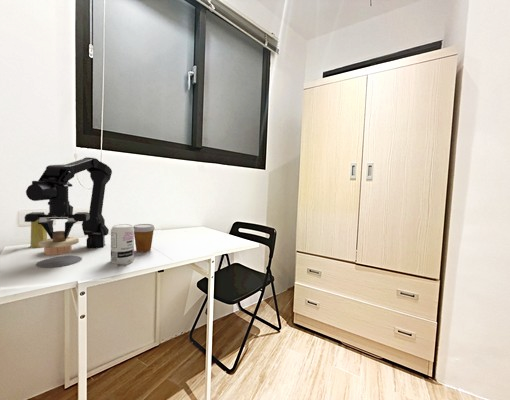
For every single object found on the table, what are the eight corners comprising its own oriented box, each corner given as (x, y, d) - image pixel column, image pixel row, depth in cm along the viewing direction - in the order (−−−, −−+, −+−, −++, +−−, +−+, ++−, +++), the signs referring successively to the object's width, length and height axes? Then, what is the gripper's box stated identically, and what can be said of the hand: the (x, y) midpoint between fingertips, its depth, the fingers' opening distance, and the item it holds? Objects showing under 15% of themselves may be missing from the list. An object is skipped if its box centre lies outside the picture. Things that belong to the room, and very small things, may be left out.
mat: (86, 256, 103) (86, 254, 103) (75, 267, 90) (75, 266, 90) (45, 258, 98) (45, 256, 98) (28, 271, 85) (28, 269, 85)
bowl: (74, 249, 111) (73, 239, 111) (67, 255, 103) (67, 244, 102) (49, 250, 108) (49, 239, 107) (40, 257, 99) (40, 245, 99)
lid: (82, 238, 101) (82, 228, 101) (73, 246, 90) (72, 234, 90) (46, 240, 97) (46, 229, 96) (32, 248, 86) (31, 236, 85)
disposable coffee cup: (158, 249, 117) (159, 225, 116) (142, 254, 109) (142, 228, 108) (144, 246, 121) (145, 222, 120) (127, 251, 113) (127, 225, 112)
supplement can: (116, 258, 102) (116, 223, 101) (136, 259, 103) (137, 224, 102) (106, 265, 94) (106, 227, 93) (128, 265, 95) (128, 228, 94)
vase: (37, 249, 109) (36, 217, 108) (26, 247, 110) (25, 216, 109) (51, 245, 115) (50, 216, 114) (40, 244, 116) (40, 214, 115)
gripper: (93, 197, 103) (93, 233, 104) (37, 196, 96) (38, 235, 97) (85, 199, 93) (85, 239, 94) (23, 198, 86) (24, 242, 87)
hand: (59, 238), depth 93 cm, fingers closed on lid, 4 cm apart
